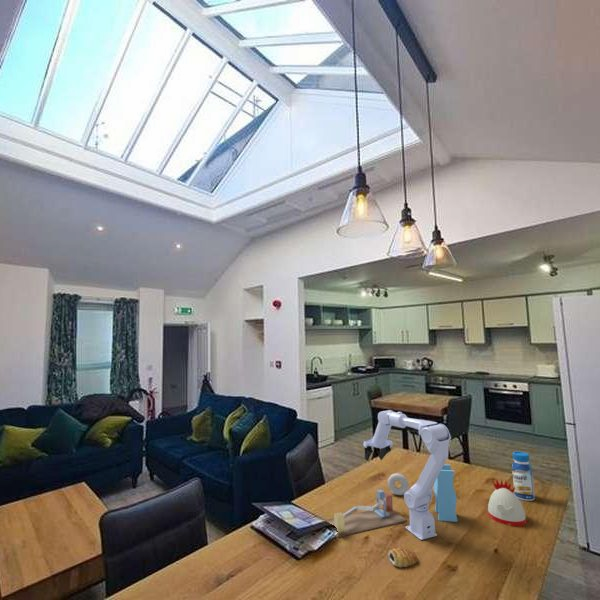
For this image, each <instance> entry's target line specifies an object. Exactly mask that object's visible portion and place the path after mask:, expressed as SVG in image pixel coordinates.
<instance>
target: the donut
mask: <svg viewBox="0 0 600 600" xmlns="http://www.w3.org/2000/svg"><path fill="white" fill-rule="evenodd" d="M396 482H399V483H400V484H401V486H400V487H397V486H396V484H395V483H396ZM387 486H388V488H389V490H390V491H391V493H392V494H394V495H395V496H396V495H397V496H404V494H405V492H407V491H409V489H410V488H409V486H410V485H409V481H408V479H407V478H406V477H405V476H404V475H403V474H402V473H397V472H396V473H392V474H391V475H390V476H389V477H388V479H387Z"/></svg>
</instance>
